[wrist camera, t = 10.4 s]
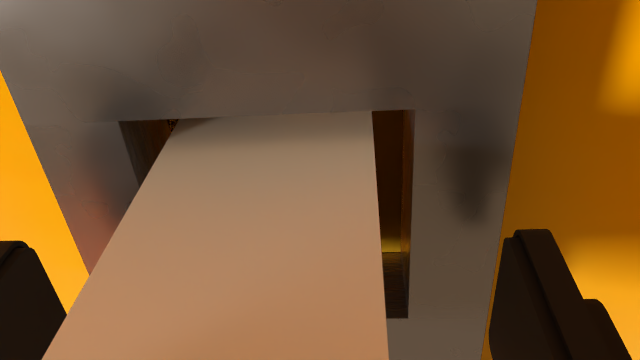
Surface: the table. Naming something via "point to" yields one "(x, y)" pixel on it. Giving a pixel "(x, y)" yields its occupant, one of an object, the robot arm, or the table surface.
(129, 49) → the grey peg hole board
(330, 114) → the square peg
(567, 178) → the table surface
